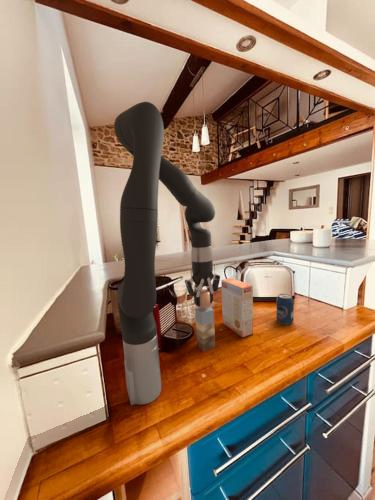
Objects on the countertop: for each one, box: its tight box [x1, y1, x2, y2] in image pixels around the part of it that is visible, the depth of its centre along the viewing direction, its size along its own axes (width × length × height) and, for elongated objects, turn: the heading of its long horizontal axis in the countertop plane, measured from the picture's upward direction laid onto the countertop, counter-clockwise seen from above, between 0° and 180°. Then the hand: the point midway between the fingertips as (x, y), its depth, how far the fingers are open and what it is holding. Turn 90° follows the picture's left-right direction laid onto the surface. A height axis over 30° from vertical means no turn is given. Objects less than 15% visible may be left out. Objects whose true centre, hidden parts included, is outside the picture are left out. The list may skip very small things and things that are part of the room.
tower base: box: [196, 333, 216, 352], centre depth 80 cm, size 5×5×5 cm
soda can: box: [276, 293, 295, 325], centre depth 95 cm, size 7×7×12 cm
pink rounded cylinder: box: [199, 288, 211, 308], centre depth 78 cm, size 5×5×6 cm
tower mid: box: [195, 320, 216, 339], centre depth 79 cm, size 5×5×5 cm
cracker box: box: [221, 277, 254, 338], centre depth 90 cm, size 14×6×21 cm, turn 25°
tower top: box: [194, 306, 215, 326], centre depth 79 cm, size 5×5×5 cm
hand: (204, 304), depth 78 cm, fingers closed on pink rounded cylinder, 4 cm apart
